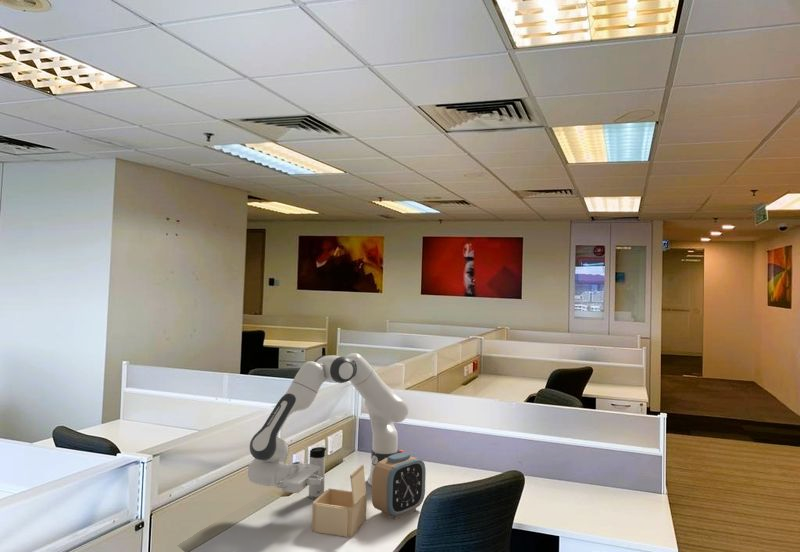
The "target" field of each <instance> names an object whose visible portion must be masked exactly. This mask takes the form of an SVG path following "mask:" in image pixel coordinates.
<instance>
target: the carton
mask: <svg viewBox="0 0 800 552" xmlns="http://www.w3.org/2000/svg"><path fill="white" fill-rule="evenodd" d="M367 495H368V493H367V492H366V493H365V494H364V495H363V496H362V497H361V499H360V500H359V501H358V502H357V503H356V504H355V505H353V498H352V490H344V489H338V488H328V489H327V490H326V489H325V490H324V493H323V494H321V495H320V496H319V497H318V498H317V499H314V501H312V510H311V512H312V515H311V516H312V519H311V532H313V533H318V534H319V533H320V534H326V535H332V536H333V535H334V536H338V537H345V538H350V539H352V538H353V537H354V536H355V534H356V533H357V532H358V531H359V530H360V529H361V527H362V526H363V525H364V524H365V522H366V521H367V502H368V501H367V498H368V497H367Z"/></svg>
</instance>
